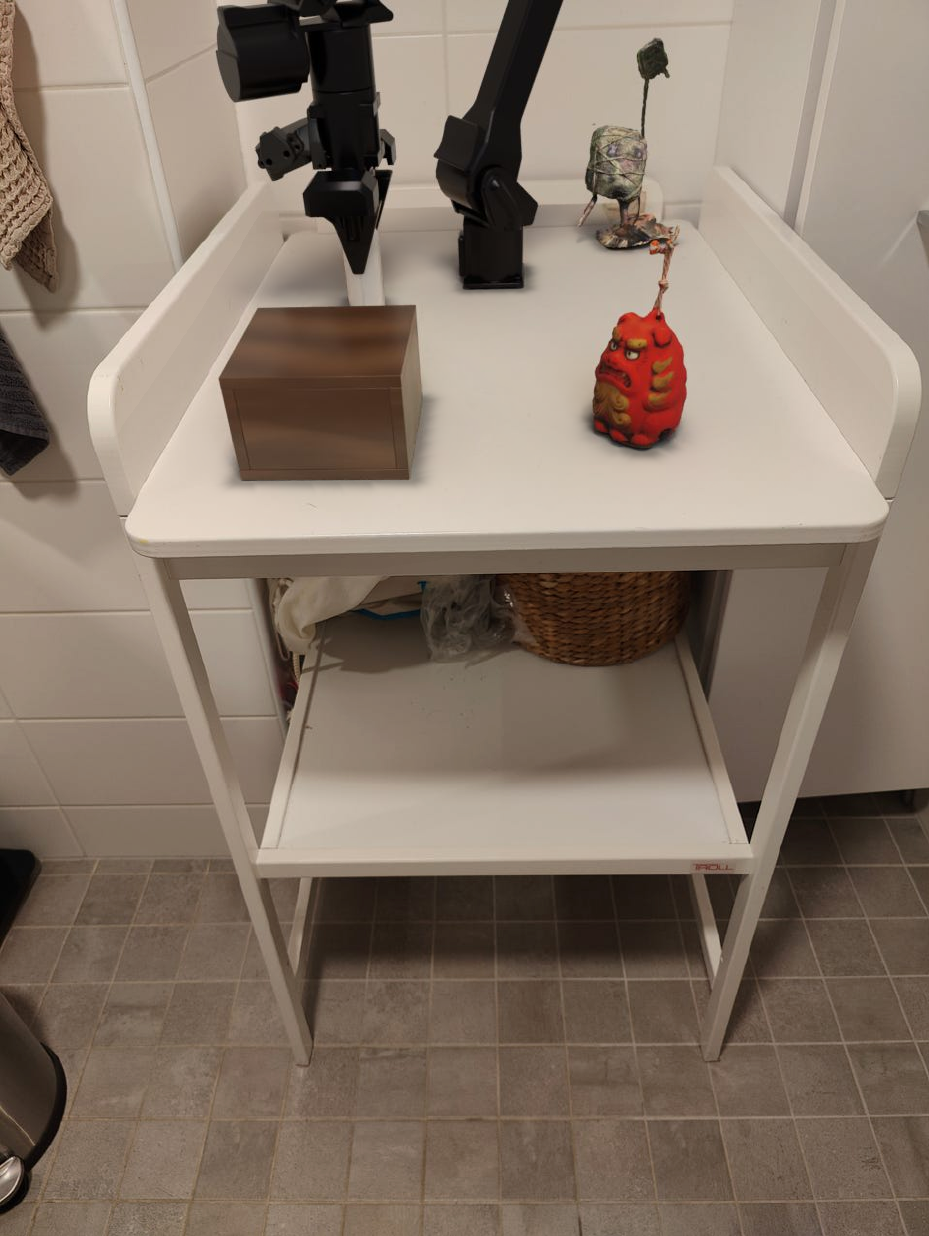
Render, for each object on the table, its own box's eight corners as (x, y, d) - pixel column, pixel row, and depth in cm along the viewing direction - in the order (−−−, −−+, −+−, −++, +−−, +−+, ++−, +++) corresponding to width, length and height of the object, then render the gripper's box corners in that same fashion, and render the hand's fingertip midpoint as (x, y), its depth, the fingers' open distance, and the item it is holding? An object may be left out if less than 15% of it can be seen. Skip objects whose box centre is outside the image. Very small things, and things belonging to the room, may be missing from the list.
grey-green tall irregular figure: (574, 229, 111) (582, 36, 98) (668, 227, 110) (688, 33, 98) (578, 252, 105) (586, 49, 92) (677, 250, 104) (700, 45, 91)
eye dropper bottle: (340, 317, 92) (324, 192, 85) (352, 295, 97) (338, 174, 89) (382, 318, 92) (370, 192, 84) (392, 296, 96) (382, 174, 88)
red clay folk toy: (571, 425, 74) (580, 232, 64) (633, 398, 77) (651, 211, 67) (640, 462, 69) (660, 260, 59) (703, 432, 72) (732, 236, 62)
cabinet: (275, 402, 79) (257, 307, 73) (422, 400, 78) (416, 304, 73) (240, 480, 69) (218, 378, 64) (409, 479, 68) (400, 375, 63)
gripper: (276, 67, 89) (300, 232, 99) (229, 113, 75) (263, 300, 85) (389, 63, 88) (402, 230, 98) (363, 110, 74) (382, 299, 84)
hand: (362, 262), depth 91 cm, fingers closed on eye dropper bottle, 5 cm apart
